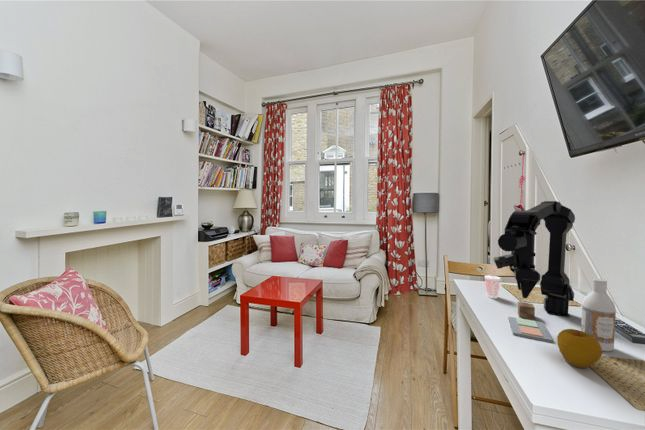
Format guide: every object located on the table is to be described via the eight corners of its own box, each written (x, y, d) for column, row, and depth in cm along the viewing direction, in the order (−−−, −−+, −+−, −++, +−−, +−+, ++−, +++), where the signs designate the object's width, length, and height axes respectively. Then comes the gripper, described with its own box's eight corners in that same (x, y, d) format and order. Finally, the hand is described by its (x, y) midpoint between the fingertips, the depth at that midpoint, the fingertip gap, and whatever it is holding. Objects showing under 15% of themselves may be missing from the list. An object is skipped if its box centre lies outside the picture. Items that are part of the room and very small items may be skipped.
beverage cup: (483, 297, 123) (484, 266, 122) (484, 293, 128) (484, 264, 127) (499, 299, 119) (500, 268, 119) (499, 295, 125) (500, 265, 124)
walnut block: (532, 315, 103) (532, 303, 103) (534, 319, 99) (534, 307, 99) (517, 313, 105) (517, 301, 105) (519, 317, 101) (519, 305, 101)
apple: (609, 372, 68) (611, 337, 68) (583, 376, 67) (585, 341, 66) (572, 353, 77) (573, 323, 76) (548, 357, 75) (549, 325, 75)
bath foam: (589, 350, 79) (592, 282, 78) (575, 338, 85) (578, 275, 84) (620, 354, 76) (623, 284, 76) (603, 342, 83) (606, 277, 82)
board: (542, 324, 95) (542, 321, 95) (552, 342, 83) (552, 339, 83) (508, 318, 100) (508, 315, 100) (512, 334, 88) (513, 331, 88)
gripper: (493, 243, 104) (492, 283, 105) (497, 251, 88) (496, 298, 88) (529, 244, 98) (528, 287, 99) (541, 254, 82) (539, 304, 83)
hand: (522, 293), depth 93 cm, fingers open, 9 cm apart
